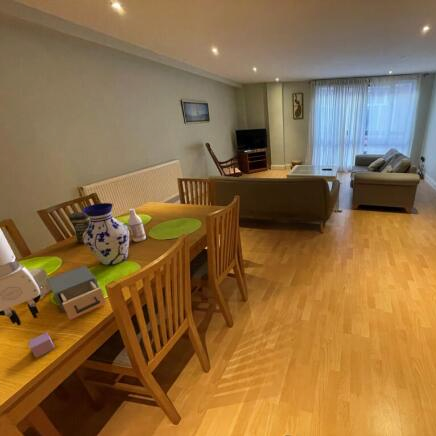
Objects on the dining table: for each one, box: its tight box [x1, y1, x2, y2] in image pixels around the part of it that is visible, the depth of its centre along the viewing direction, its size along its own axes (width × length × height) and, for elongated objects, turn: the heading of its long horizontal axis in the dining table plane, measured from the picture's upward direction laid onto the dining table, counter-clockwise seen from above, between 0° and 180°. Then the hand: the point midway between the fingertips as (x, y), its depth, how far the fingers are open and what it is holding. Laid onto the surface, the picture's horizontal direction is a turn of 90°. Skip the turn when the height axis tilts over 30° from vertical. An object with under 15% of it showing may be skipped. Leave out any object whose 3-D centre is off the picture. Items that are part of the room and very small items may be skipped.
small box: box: [28, 268, 52, 301], centre depth 100 cm, size 8×6×10 cm
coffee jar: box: [68, 211, 90, 244], centre depth 145 cm, size 10×8×19 cm
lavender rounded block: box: [28, 331, 55, 359], centre depth 77 cm, size 4×4×4 cm
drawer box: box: [47, 265, 100, 313], centre depth 100 cm, size 15×13×9 cm
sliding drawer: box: [59, 281, 107, 321], centre depth 93 cm, size 18×11×7 cm, turn 52°
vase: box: [81, 202, 131, 266], centre depth 122 cm, size 19×19×30 cm
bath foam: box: [127, 208, 147, 243], centre depth 145 cm, size 7×7×20 cm
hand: (27, 319), depth 73 cm, fingers closed
